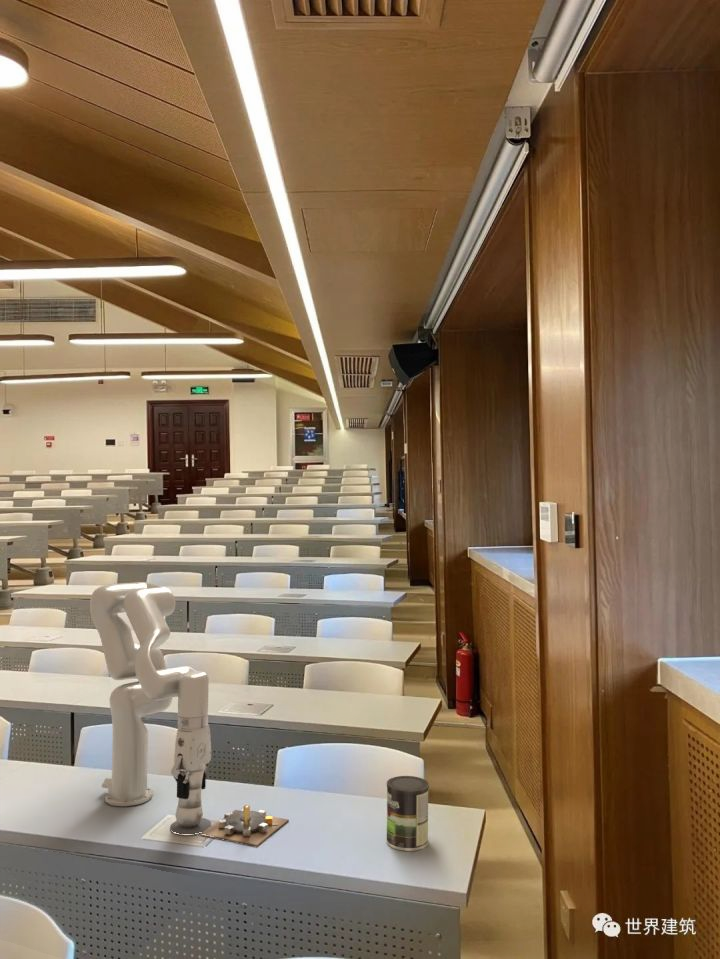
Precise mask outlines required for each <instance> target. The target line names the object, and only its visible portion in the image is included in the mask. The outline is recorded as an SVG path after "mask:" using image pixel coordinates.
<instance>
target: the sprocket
mask: <svg viewBox="0 0 720 959" xmlns="http://www.w3.org/2000/svg"><path fill="white" fill-rule="evenodd" d="M232 812H233V811H232ZM232 812H230V811H228V812H226V813H224V817H223V818H224V819H223V818H219V820H218V821H219V828H225V832H224V833H226V834H229V835H230V834H232V833H240V834H243V836H250V833H253V832H257V831H260V832H265V831H267V830H268V825H270V824H272V817H273V816H272V815H267V811H266V810H262V809H259V810H258V811H257V810H251V805H249V804H245V805H243V807H242V808H241V810H240V812H235V813H232ZM266 815H267V816H266Z"/></svg>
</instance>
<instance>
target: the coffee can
mask: <svg viewBox="0 0 720 959" xmlns="http://www.w3.org/2000/svg"><path fill="white" fill-rule="evenodd" d="M429 788H430V783H429V782H428V780H426V779H424V778H422V777H418V776H413V775H398V776H394V777H391V778H389V779H388V780H387V781H386V840H385V843H386V844H387V845H388V846H389V847H391V849H394V850H398V851H403V852H417V851H420V850H423V849H425V848H426V847H428V845H429V838H428V837H429Z"/></svg>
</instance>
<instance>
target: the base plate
mask: <svg viewBox="0 0 720 959" xmlns="http://www.w3.org/2000/svg"><path fill="white" fill-rule="evenodd" d="M240 811H241V810H239V809H234V810H233V811H232V813H235V812H240ZM266 816H268V815H267V814H266ZM222 819H224V817H223V818H222ZM289 822H290V820H289V819H288V818H282V817H276V816H272V824H270V825H268V830H267V831H265V832H260V831H257V832H253V833H250V836H243V834H240V833H232V834H230V835H229V834H226V833H224V832H225V828H219V820H218V821H216V822H215V823H214V824H211V827H209V828H208V829H206V830H205V831H203V832H202V833H201V834H206V835H211V836H214V837H216V838H219V839H218V840H221V839H224V840H223V841H225V840H229V841H228V842H230V841H234V842H233V843H235V842H238V843H237V844H240V843H243V844H242V845H245V844H247V845H246V846H250V845H251V846H250V847H254V846H256V848H258V847H260V845H261V844H263V843H264V842H265V841H267V840H268V839H269V838H270V837H271V836H273V835H274V834H276V832H278V831H279V830H280V829H281V828H283V827H284V826H285V825H286V824H288V823H289ZM201 834H200V835H201ZM272 834H273V835H272ZM216 838H215V839H216ZM267 838H268V839H267ZM262 842H263V843H262ZM257 846H258V847H257Z"/></svg>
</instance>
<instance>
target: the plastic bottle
mask: <svg viewBox="0 0 720 959" xmlns="http://www.w3.org/2000/svg"><path fill="white" fill-rule="evenodd" d="M204 768H205V765H204V763H201V764H200V766H199V768H198V769H196V770H195V771H192V772H189V776H188V780H187V782H189V798H188V799H181V798H178V801H177V806H176V811H175V821H176V822H177V823H178V825H180V826H183V827H193V826H197V825H199V824H200V822H201V820H202V818H203V815H204V814H203V813H204V812H203V805H202V789H201V787H202V779H203V774H204ZM182 769H185V768H184V766H182ZM184 774H185V772H182V775H183V776H184Z"/></svg>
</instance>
